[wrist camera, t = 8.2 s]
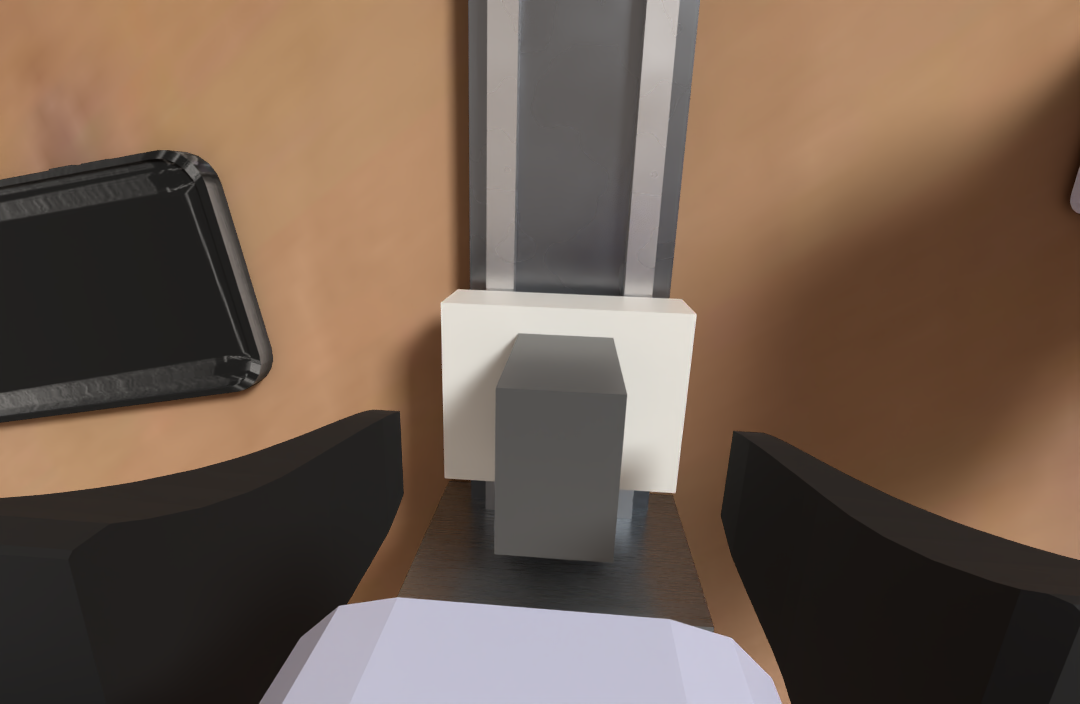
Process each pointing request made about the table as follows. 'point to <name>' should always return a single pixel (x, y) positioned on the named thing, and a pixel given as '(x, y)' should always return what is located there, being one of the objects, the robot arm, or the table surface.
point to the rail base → (572, 260)
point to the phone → (123, 288)
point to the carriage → (563, 410)
